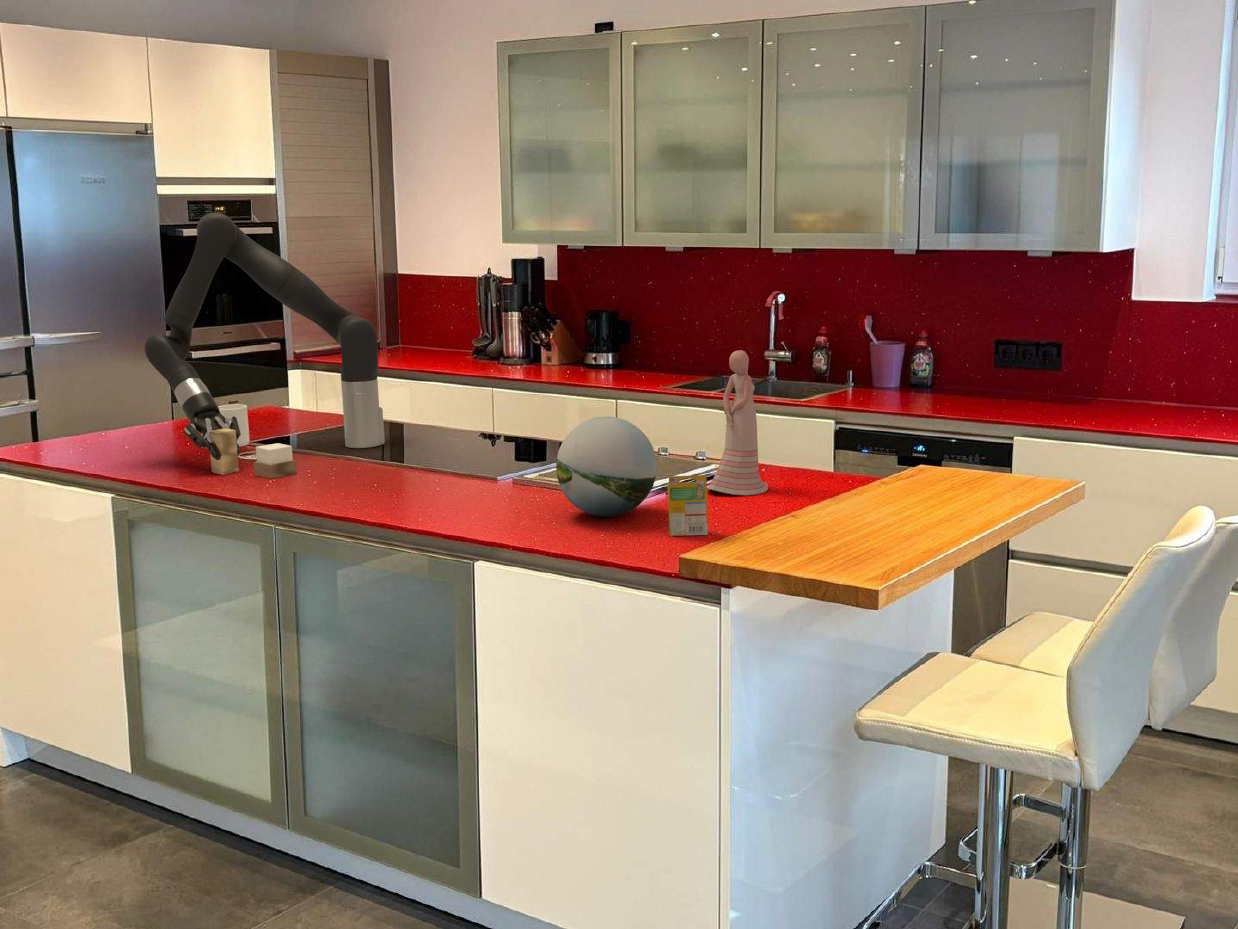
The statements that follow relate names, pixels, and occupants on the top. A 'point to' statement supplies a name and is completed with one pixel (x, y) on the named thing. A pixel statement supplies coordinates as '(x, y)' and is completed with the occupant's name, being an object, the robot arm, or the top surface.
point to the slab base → (275, 469)
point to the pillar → (225, 451)
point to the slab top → (274, 453)
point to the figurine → (739, 436)
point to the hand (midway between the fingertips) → (228, 455)
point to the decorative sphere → (606, 466)
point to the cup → (238, 420)
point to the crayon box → (687, 506)
